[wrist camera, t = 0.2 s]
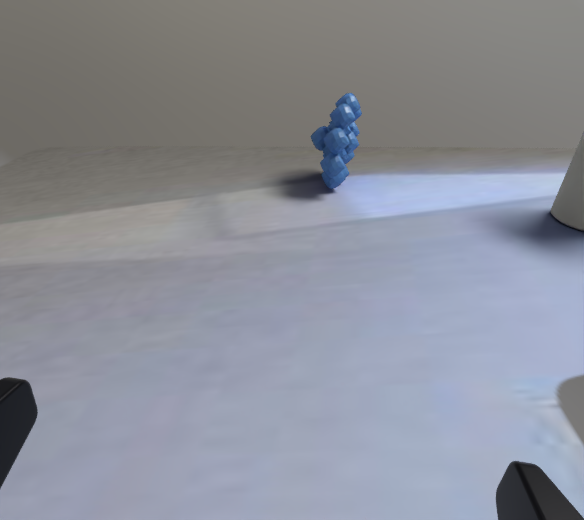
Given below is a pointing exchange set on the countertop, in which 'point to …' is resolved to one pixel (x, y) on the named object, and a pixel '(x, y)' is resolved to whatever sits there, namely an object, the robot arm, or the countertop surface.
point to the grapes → (338, 140)
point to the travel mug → (572, 193)
